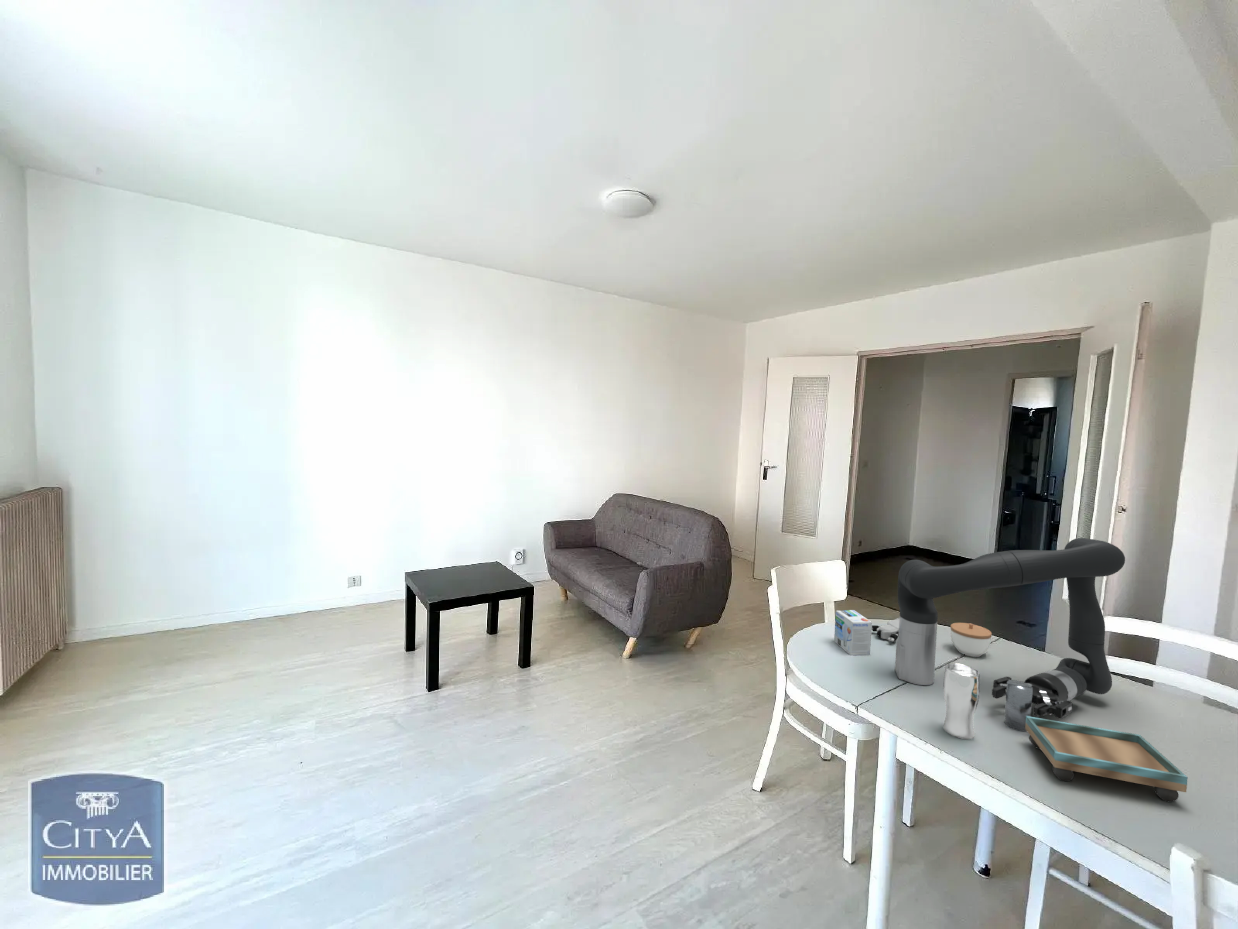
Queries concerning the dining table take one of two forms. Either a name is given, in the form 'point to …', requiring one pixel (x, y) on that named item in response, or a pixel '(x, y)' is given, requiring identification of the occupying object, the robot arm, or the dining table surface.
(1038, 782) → the dining table surface
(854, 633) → the light bulb box
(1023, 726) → the metal part
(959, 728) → the beer glass
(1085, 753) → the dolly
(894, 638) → the robot toy
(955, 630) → the lidded jar
